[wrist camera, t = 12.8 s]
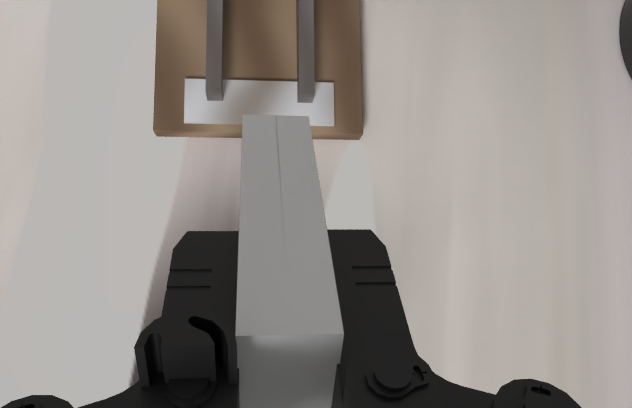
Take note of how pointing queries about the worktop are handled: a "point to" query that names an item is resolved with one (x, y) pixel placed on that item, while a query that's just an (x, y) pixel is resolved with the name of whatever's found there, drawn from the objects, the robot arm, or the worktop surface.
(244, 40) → the switch panel
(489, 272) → the worktop surface
